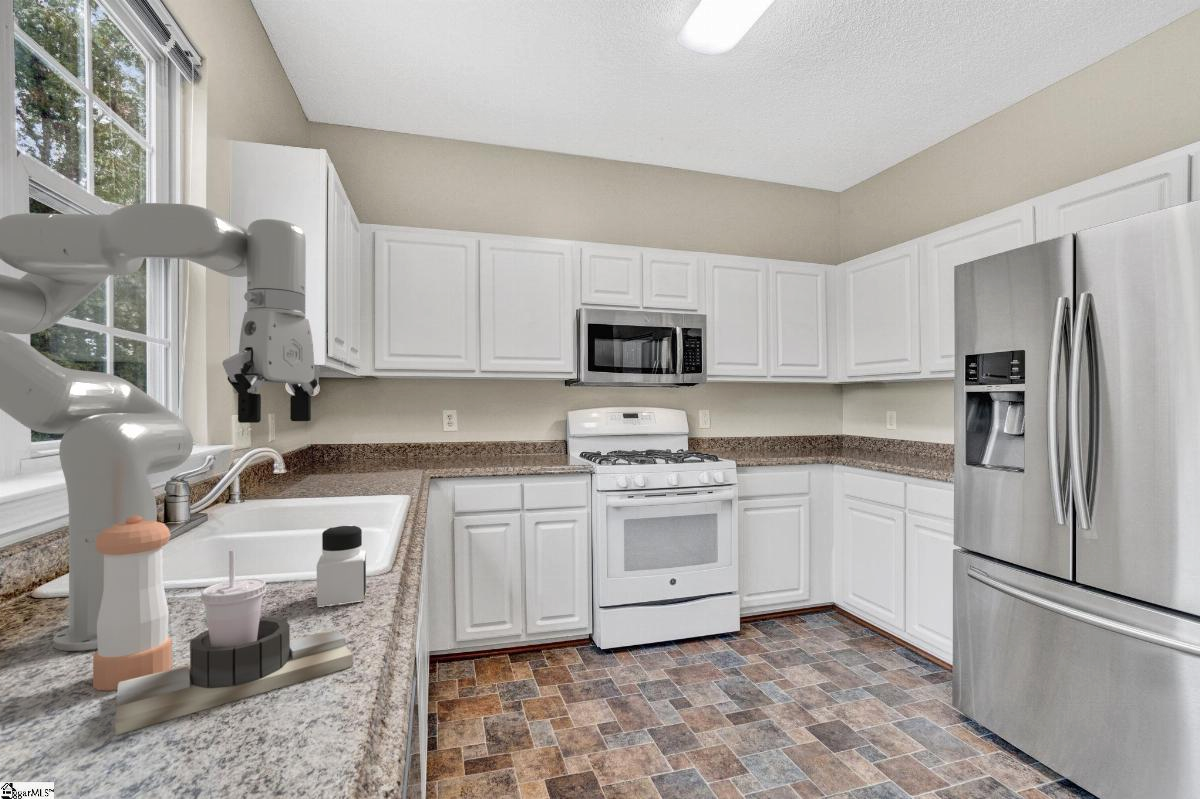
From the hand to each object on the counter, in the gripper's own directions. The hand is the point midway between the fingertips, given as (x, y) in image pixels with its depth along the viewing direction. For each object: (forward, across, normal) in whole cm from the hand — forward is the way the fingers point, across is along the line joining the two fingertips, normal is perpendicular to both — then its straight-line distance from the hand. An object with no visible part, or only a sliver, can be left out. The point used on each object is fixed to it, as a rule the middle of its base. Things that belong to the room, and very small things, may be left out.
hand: (276, 421), depth 82 cm
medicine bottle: (+30, +12, -2) cm, 33 cm away
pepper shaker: (+30, -16, +5) cm, 35 cm away
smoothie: (+29, -16, -9) cm, 34 cm away
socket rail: (+30, -15, -9) cm, 35 cm away
